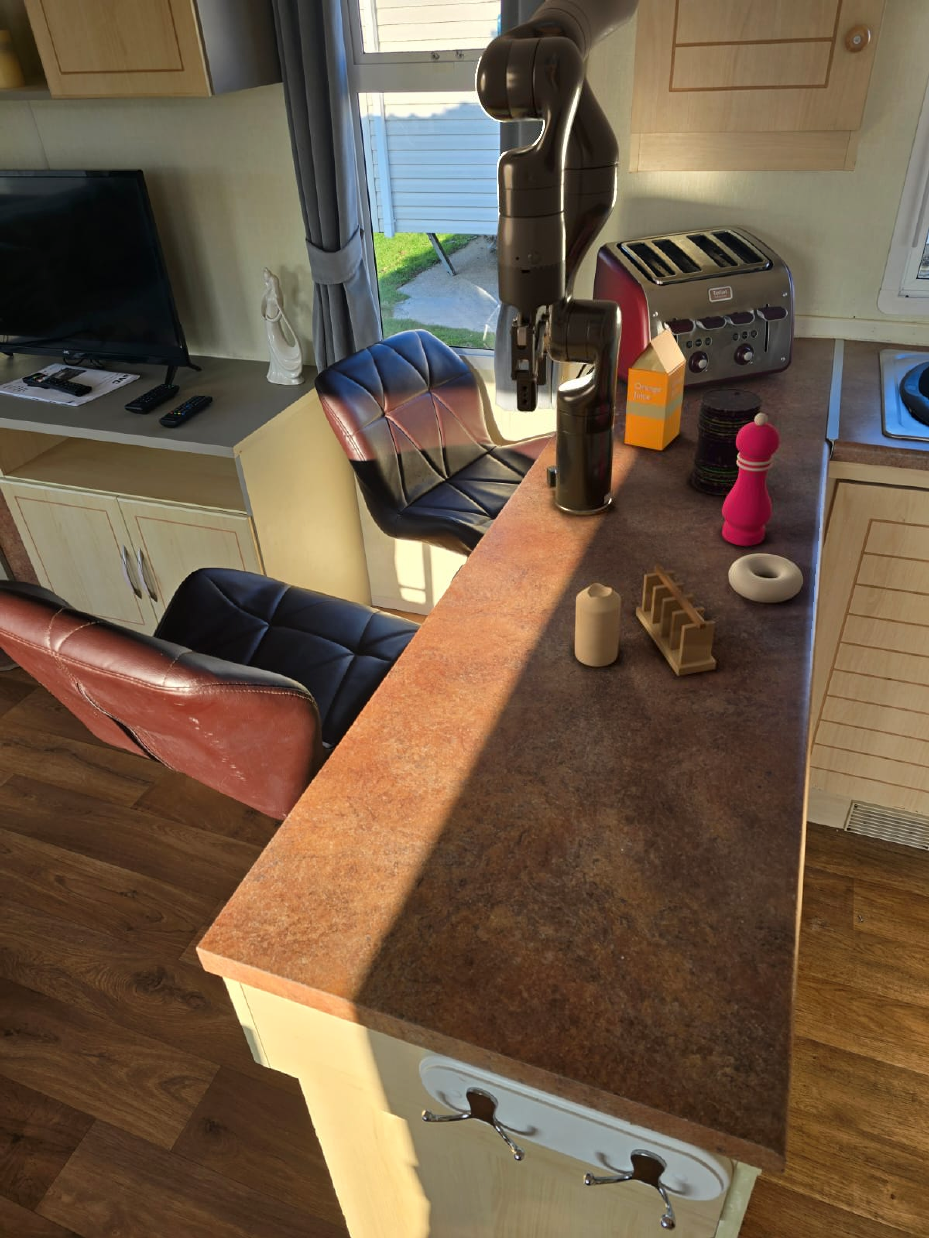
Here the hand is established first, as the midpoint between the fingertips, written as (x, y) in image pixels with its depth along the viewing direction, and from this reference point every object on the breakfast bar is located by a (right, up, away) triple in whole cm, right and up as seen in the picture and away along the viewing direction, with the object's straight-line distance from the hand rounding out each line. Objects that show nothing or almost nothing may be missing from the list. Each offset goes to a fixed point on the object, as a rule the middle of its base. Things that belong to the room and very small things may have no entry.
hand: (532, 397), depth 104 cm
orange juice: (+28, +8, +61) cm, 67 cm away
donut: (+34, -23, +17) cm, 44 cm away
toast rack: (+19, -30, +8) cm, 36 cm away
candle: (+9, -32, +7) cm, 34 cm away
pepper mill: (+35, -14, +29) cm, 48 cm away
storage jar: (+36, -3, +44) cm, 57 cm away
